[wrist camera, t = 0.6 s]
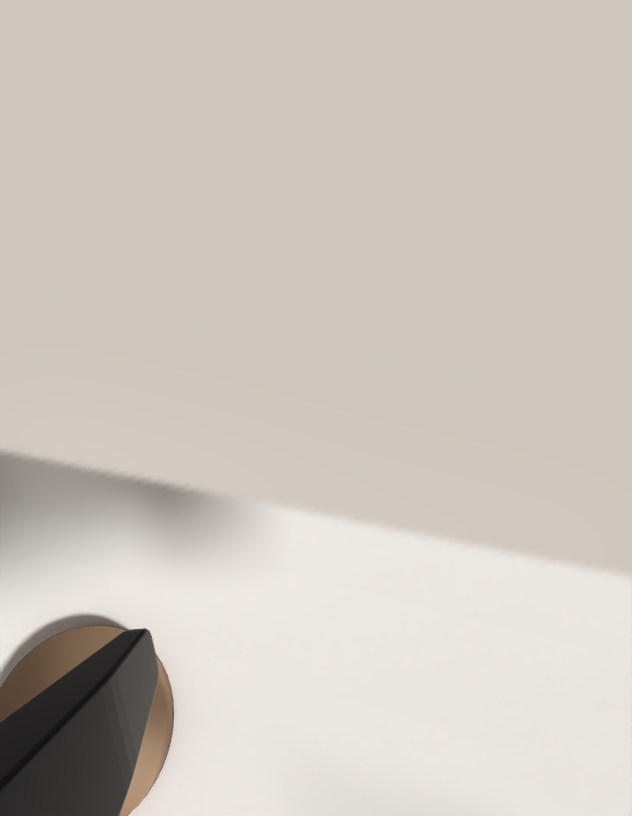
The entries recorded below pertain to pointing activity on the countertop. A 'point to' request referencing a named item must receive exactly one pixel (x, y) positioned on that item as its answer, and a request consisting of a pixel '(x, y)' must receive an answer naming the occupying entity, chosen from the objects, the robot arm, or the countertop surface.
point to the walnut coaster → (64, 656)
